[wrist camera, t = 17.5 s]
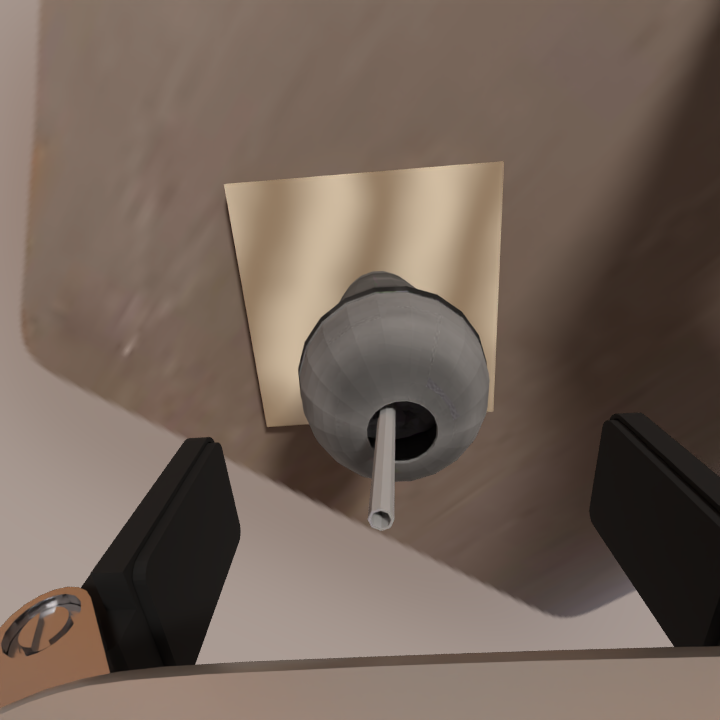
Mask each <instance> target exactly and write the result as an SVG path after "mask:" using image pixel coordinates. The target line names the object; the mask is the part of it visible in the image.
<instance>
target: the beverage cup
mask: <svg viewBox="0 0 720 720" xmlns="http://www.w3.org/2000/svg"><path fill="white" fill-rule="evenodd" d="M298 375H299V385H300V395H301V399H302V405H303V411H304V414H305V417H306V419H307V421H308V423H309V425H310V427H311V429H312V431H313V434H314V436H315V438H316V439H317V441H318V442H319V444H320V445H321V446H322V447H323V448H324V449H325V450H326V451H327V452H328V453H329V454H330V455H331V456H332V457H333V458H334V459H335V460H336V461H337V462H338V463H340V464H341V465H343V466H344V467H346V468H348V469H350V470H352V471H354V472H355V473H357V474H359V475H361V476H363V477H367V478H372V482H371V492H370V502H369V512H368V521H369V523H370V525H371V527H372V528H375V529H378V530H380V531H382V530H385V529H388V528H390V527H391V525H392V523H393V521H394V485H395V482H398V481H413V480H416V479H420V478H423V477H426V476H429V475H433V474H436V473H437V472H439V471H440V470H442V469H444V468H445V467H447V466H448V465H450V464H451V463H453V462H455V461H456V460H457V459H458V458H459V457H460V456H461V455H462V453H463V452H464V451H465V450H466V449H467V448H468V447H469V445H470V444H471V443H472V442H473V441H474V439H475V438H476V436H477V434H478V431H479V429H480V427H481V424H482V422H483V420H484V418H485V415H486V412H487V408H488V396H489V383H490V379H489V372H488V369H487V361H486V358H485V354H484V351H483V347H482V344H481V340H480V337H479V334H478V333H477V332H476V330H475V329H474V327H473V326H472V325H471V323H470V322H469V320H468V319H467V318H466V316H465V315H464V314H463V312H462V311H460V310H459V309H458V308H456V307H455V306H453V305H452V304H450V303H449V302H447V301H446V300H444V299H443V298H442V297H440V296H439V295H437V294H434V293H430V292H427V291H423V290H419V289H416V288H415V287H414V286H412V285H411V284H410V283H408V282H407V281H405V280H404V279H402V278H401V277H400V276H398V275H395V274H392V273H389V272H385V271H372V272H370V273H367V274H364V275H361V276H360V277H359V278H358V279H356V280H355V281H354V282H353V283H352V284H351V285H350V286H349V287H348V289H347V290H346V292H345V293H344V295H343V296H342V298H341V300H340V302H339V303H338V304H337V305H336V306H335V307H333V308H332V309H331V310H329V311H328V312H327V313H326V314H324V315H323V316H322V317H321V318H320V319H319V321H318V322H317V324H316V325H315V327H314V328H313V330H312V331H311V333H310V335H309V336H308V338H307V339H306V341H305V342H304V346H303V351H302V355H301V359H300V363H299V367H298Z"/></svg>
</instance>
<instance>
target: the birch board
mask: <svg viewBox="0 0 720 720" xmlns="http://www.w3.org/2000/svg"><path fill="white" fill-rule="evenodd" d="M503 172H504V161H501V162H488V163H476V164H464V165H452V166H440V167H428V168H415V169H403V170H391V171H379V172H367V173H354V174H342V175H330V176H318V177H306V178H293V179H281V180H269V181H257V182H245V183H232V184H224V187H225V193H226V198H227V204H228V210H229V215H230V221H231V227H232V232H233V238H234V244H235V249H236V255H237V260H238V266H239V272H240V277H241V283H242V289H243V294H244V300H245V306H246V311H247V317H248V323H249V328H250V334H251V340H252V345H253V351H254V357H255V362H256V368H257V373H258V379H259V385H260V390H261V396H262V402H263V407H264V413H265V419H266V424H267V427H274V426H289V425H304V424H309V423H308V421H307V419H306V417H305V414H304V411H303V405H302V399H301V395H300V385H299V375H298V367H299V363H300V359H301V355H302V351H303V346H304V342H305V341H306V339H307V338H308V336H309V335H310V333H311V331H312V330H313V328H314V327H315V325H316V324H317V322H318V321H319V319H320V318H321V317H322V316H323V315H324V314H326V313H327V312H328V311H329V310H331V309H332V308H333V307H335V306H336V305H337V304H338V303H339V302H340V300H341V298H342V296H343V295H344V293H345V292H346V290H347V289H348V287H349V286H350V285H351V284H352V283H353V282H354V281H355V280H356V279H358V278H359V277H360V276H361V275H364V274H367V273H370V272H372V271H385V272H389V273H392V274H395V275H398V276H400V277H401V278H402V279H404V280H405V281H407V282H408V283H410V284H411V285H412V286H414V287H415V288H416V289H419V290H423V291H427V292H430V293H434V294H437V295H439V296H440V297H442V298H443V299H444V300H446V301H447V302H449V303H450V304H452V305H453V306H455V307H456V308H458V309H459V310H460V311H462V312H463V314H464V315H465V316H466V318H467V319H468V320H469V322H470V323H471V325H472V326H473V327H474V329H475V330H476V332H477V333H478V334H479V337H480V340H481V344H482V347H483V351H484V354H485V358H486V361H487V369H488V372H489V379H490V383H489V396H488V408H487V412H493V403H494V380H495V357H496V334H497V311H498V288H499V265H500V242H501V219H502V195H503Z"/></svg>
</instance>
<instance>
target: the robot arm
mask: <svg viewBox="0 0 720 720" xmlns="http://www.w3.org/2000/svg"><path fill="white" fill-rule="evenodd" d="M589 512H590V518H591V521H592V523H593V525H594V527H595V528H596V530H597V531H598V533H599V534H600V536H601V537H602V539H603V540H604V542H605V543H606V545H607V546H608V548H609V549H610V551H611V552H612V554H613V555H614V557H615V559H616V560H617V562H618V563H619V565H620V566H621V568H622V569H623V571H624V572H625V574H626V575H627V577H628V578H629V580H630V581H631V583H632V584H633V586H634V587H635V589H636V590H637V592H638V593H639V595H640V596H641V598H642V599H643V601H644V602H645V604H646V605H647V606H648V608H649V609H650V611H651V613H652V614H653V616H654V617H655V618H656V620H657V622H658V623H659V624H660V626H661V628H662V629H663V631H664V632H665V633H666V635H667V636H668V638H669V640H670V641H671V643H672V644H673V646H674V647H662V648H661V647H660V648H623V649H590V650H589V649H588V650H554V651H523V652H492V653H463V654H435V655H406V656H378V657H353V658H329V659H304V660H280V661H257V662H256V661H255V662H235V663H219V664H202V665H195V663H196V660H197V658H198V655H199V652H200V649H201V647H202V644H203V641H204V638H205V636H206V633H207V630H208V627H209V624H210V621H211V619H212V616H213V613H214V610H215V607H216V605H217V602H218V599H219V596H220V594H221V591H222V588H223V585H224V582H225V579H226V577H227V574H228V571H229V568H230V565H231V563H232V560H233V557H234V555H235V552H236V549H237V546H238V543H239V540H240V523H239V519H238V515H237V511H236V507H235V502H234V498H233V493H232V489H231V485H230V481H229V476H228V472H227V468H226V463H225V459H224V455H223V451H222V447H221V445H220V443H214V440H213V439H212V438H211V437H204V438H189V439H186V440H185V441H184V443H183V444H182V445H181V447H180V448H179V450H178V451H177V453H176V454H175V455H174V457H173V458H172V459H171V461H170V462H169V464H168V465H167V467H166V468H165V469H164V471H163V472H162V474H161V475H160V476H159V478H158V479H157V481H156V482H155V483H154V485H153V486H152V488H151V489H150V490H149V492H148V493H147V495H146V496H145V497H144V499H143V500H142V502H141V503H140V504H139V506H138V507H137V509H136V510H135V512H134V513H133V514H132V516H131V517H130V519H129V520H128V522H127V523H126V524H125V526H124V527H123V528H122V530H121V531H120V533H119V534H118V535H117V537H116V538H115V540H114V541H113V542H112V544H111V545H110V547H109V548H108V550H107V551H106V552H105V554H104V555H103V557H102V558H101V560H100V561H99V562H98V564H97V565H96V566H95V568H94V569H93V571H92V572H91V574H90V576H89V577H88V578H87V580H86V581H85V583H84V584H83V585H82V587H81V588H79V587H64V588H59V589H55V590H52V591H50V592H47V593H45V594H42V595H40V596H38V597H37V598H35V599H33V600H32V601H30V602H28V603H27V604H25V605H24V606H23V607H21V608H20V609H19V610H17V611H16V612H15V613H14V614H12V615H11V616H10V617H9V618H8V619H7V621H6V622H5V623H4V624H3V625H2V626H1V627H0V720H720V477H719V476H718V475H716V474H715V473H714V472H713V471H712V470H710V469H709V468H708V467H707V466H706V465H704V464H703V463H702V462H701V461H700V460H698V459H697V458H696V457H695V456H693V455H692V454H691V453H690V452H689V451H687V450H686V449H685V448H684V447H683V446H681V445H680V444H679V443H678V442H677V441H675V440H674V439H673V438H672V437H671V436H669V435H668V434H667V433H666V432H664V431H663V430H662V429H661V428H660V427H658V426H657V425H656V424H655V423H654V422H652V421H651V420H650V419H649V418H648V417H646V416H645V415H644V414H642V413H623V414H614V415H612V416H611V418H610V420H607V421H605V422H604V424H603V428H602V434H601V440H600V447H599V453H598V459H597V465H596V471H595V477H594V484H593V490H592V496H591V502H590V509H589Z"/></svg>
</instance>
